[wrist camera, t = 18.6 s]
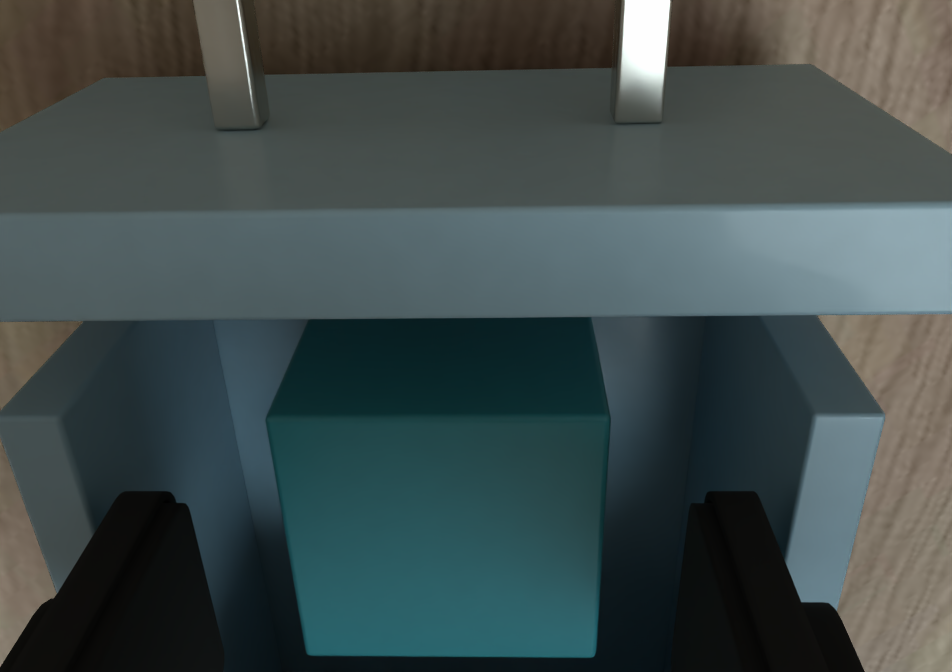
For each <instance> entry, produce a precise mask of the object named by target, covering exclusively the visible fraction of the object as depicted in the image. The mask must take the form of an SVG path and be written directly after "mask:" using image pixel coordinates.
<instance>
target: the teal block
mask: <svg viewBox="0 0 952 672" xmlns="http://www.w3.org/2000/svg"><path fill="white" fill-rule="evenodd" d="M265 422H266V427H267V433H268V439H269V444H270V450H271V456H272V461H273V467H274V473H275V478H276V484H277V490H278V496H279V501H280V507H281V513H282V518H283V524H284V530H285V535H286V541H287V547H288V552H289V558H290V564H291V569H292V575H293V581H294V586H295V592H296V598H297V604H298V609H299V615H300V621H301V626H302V632H303V638H304V643H305V649H306V653H307V654H308V655H311V656H417V657H544V658H591V657H594V655H595V653H596V649H597V634H598V618H599V602H600V586H601V570H602V554H603V538H604V522H605V506H606V490H607V474H608V458H609V442H610V426H611V416H610V411H609V406H608V401H607V395H606V390H605V385H604V380H603V374H602V369H601V364H600V359H599V353H598V348H597V343H596V338H595V332H594V327H593V322H592V317H523V318H401V319H309V320H308V322H307V324H306V326H305V329H304V331H303V333H302V336H301V338H300V340H299V342H298V345H297V347H296V349H295V352H294V354H293V356H292V358H291V361H290V363H289V365H288V368H287V370H286V372H285V374H284V377H283V379H282V381H281V384H280V386H279V388H278V390H277V393H276V395H275V397H274V400H273V402H272V404H271V407H270V409H269V411H268V413H267V416H266V419H265Z"/></svg>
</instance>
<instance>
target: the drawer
mask: <svg viewBox="0 0 952 672" xmlns="http://www.w3.org/2000/svg"><path fill="white" fill-rule="evenodd" d="M192 2H193V7H194V13H195V19H196V24H197V30H198V36H199V41H200V47H201V53H202V58H203V64H204V70H205V76H179V77H129V78H103V79H101V80H99V81H97V82H95V83H93V84H91V85H90V86H88V87H86V88H84V89H82V90H80V91H78V92H76V93H74V94H72V95H70V96H69V97H67V98H65V99H63V100H61V101H59V102H57V103H55V104H53V105H51V106H49V107H47V108H46V109H44V110H42V111H40V112H38V113H36V114H34V115H32V116H30V117H28V118H26V119H25V120H23V121H21V122H19V123H17V124H15V125H13V126H11V127H9V128H7V129H5V130H4V131H2V132H0V322H35V321H83V322H82V324H81V325H80V326H79V327H78V328H77V329H76V330H75V331H74V332H73V333H72V334H71V335H70V336H69V338H68V339H67V340H66V341H65V342H64V343H63V344H62V345H61V346H60V347H59V348H58V349H57V350H56V351H55V353H54V354H53V355H52V356H51V357H50V358H49V359H48V360H47V361H46V362H45V363H44V364H43V365H42V367H41V368H40V369H39V370H38V371H37V372H36V373H35V374H34V375H33V376H32V377H31V378H30V379H29V380H28V382H27V383H26V384H25V385H24V386H23V387H22V388H21V389H20V390H19V391H18V392H17V393H16V394H15V396H14V397H13V398H12V399H11V400H10V401H9V402H8V403H7V404H6V405H5V406H4V407H3V408H2V409H1V411H0V438H1V441H2V444H3V447H4V449H5V452H6V455H7V458H8V460H9V463H10V466H11V469H12V471H13V474H14V477H15V480H16V482H17V485H18V488H19V491H20V493H21V496H22V499H23V502H24V504H25V507H26V510H27V513H28V515H29V518H30V521H31V524H32V526H33V529H34V532H35V535H36V537H37V540H38V543H39V546H40V548H41V551H42V554H43V557H44V559H45V562H46V565H47V568H48V570H49V573H50V576H51V579H52V581H53V584H54V587H55V590H56V592H57V593H58V591H59V590H60V588H61V587H62V585H63V583H64V582H65V580H66V578H67V577H68V575H69V574H70V572H71V570H72V569H73V567H74V565H75V564H76V562H77V561H78V559H79V557H80V556H81V554H82V553H83V551H84V549H85V548H86V546H87V544H88V543H89V541H90V540H91V538H92V536H93V535H94V533H95V531H96V530H97V528H98V527H99V525H100V523H101V522H102V520H103V519H104V517H105V515H106V514H107V512H108V510H109V509H110V507H111V506H112V504H113V502H114V501H115V499H116V498H117V497H118V496H119V494H120V493H122V492H124V491H168V492H171V493H172V494H173V495H174V497H175V499H176V502H177V503H186V504H187V506H188V507H189V510H190V513H191V517H192V521H193V525H194V529H195V533H196V538H197V542H198V546H199V550H200V554H201V558H202V562H203V566H204V570H205V575H206V579H207V583H208V587H209V591H210V595H211V599H212V603H213V607H214V611H215V616H216V620H217V624H218V628H219V632H220V636H221V640H222V644H223V649H224V670H223V672H671V650H672V642H673V634H674V626H675V618H676V609H677V601H678V593H679V585H680V577H681V569H682V561H683V553H684V545H685V537H686V529H687V521H688V513H689V507H690V505H691V503H704V500H705V496H706V494H707V492H709V491H754V492H756V493H757V494H758V496H759V498H760V500H761V503H762V505H763V508H764V510H765V513H766V515H767V518H768V520H769V523H770V525H771V528H772V530H773V533H774V535H775V538H776V540H777V543H778V545H779V548H780V550H781V553H782V555H783V558H784V560H785V563H786V565H787V568H788V570H789V572H790V575H791V577H792V580H793V582H794V585H795V587H796V590H797V592H798V595H799V597H800V600H801V602H826V603H829V604H831V605H832V606H833V607H834V608H835V609H836V611H837V607H838V603H839V599H840V595H841V591H842V587H843V583H844V579H845V575H846V571H847V567H848V563H849V560H850V556H851V552H852V548H853V544H854V540H855V536H856V532H857V528H858V524H859V520H860V516H861V512H862V508H863V504H864V500H865V496H866V492H867V488H868V484H869V480H870V476H871V472H872V468H873V464H874V460H875V456H876V452H877V448H878V444H879V440H880V436H881V432H882V428H883V424H884V420H885V413H884V412H883V410H882V409H881V407H880V406H879V405H878V403H877V402H876V400H875V399H874V397H873V396H872V394H871V393H870V392H869V390H868V389H867V387H866V386H865V384H864V383H863V381H862V380H861V379H860V377H859V376H858V374H857V373H856V371H855V370H854V368H853V367H852V366H851V364H850V363H849V361H848V360H847V358H846V357H845V356H844V354H843V353H842V351H841V350H840V348H839V347H838V345H837V344H836V343H835V341H834V340H833V338H832V337H831V335H830V334H829V332H828V331H827V330H826V328H825V327H824V325H823V324H822V322H821V321H820V319H819V318H818V317H817V315H890V314H952V154H950V153H949V152H947V151H946V150H944V149H943V148H941V147H939V146H938V145H936V144H935V143H933V142H932V141H930V140H929V139H927V138H925V137H924V136H922V135H921V134H919V133H918V132H916V131H915V130H913V129H912V128H910V127H908V126H907V125H905V124H904V123H902V122H901V121H899V120H898V119H896V118H894V117H893V116H891V115H890V114H888V113H887V112H885V111H884V110H882V109H880V108H879V107H877V106H876V105H874V104H873V103H871V102H870V101H868V100H866V99H865V98H863V97H862V96H860V95H859V94H857V93H856V92H854V91H852V90H851V89H849V88H848V87H846V86H845V85H843V84H842V83H840V82H838V81H837V80H835V79H834V78H832V77H831V76H829V75H828V74H826V73H824V72H823V71H821V70H820V69H818V68H817V67H815V66H814V65H811V64H788V65H737V66H686V67H667V64H668V51H669V39H670V27H671V14H672V2H673V0H615V13H614V33H613V53H612V68H585V69H534V70H483V71H433V72H382V73H331V74H281V75H264V69H263V62H262V55H261V48H260V41H259V34H258V27H257V20H256V13H255V6H254V0H192ZM523 317H592V322H593V327H594V332H595V338H596V343H597V348H598V353H599V359H600V364H601V369H602V374H603V380H604V385H605V390H606V395H607V401H608V406H609V411H610V416H611V426H610V442H609V458H608V474H607V490H606V506H605V522H604V538H603V554H602V570H601V586H600V602H599V618H598V634H597V649H596V653H595V655H594V657H591V658H544V657H417V656H311V655H308V654H307V653H306V649H305V643H304V638H303V632H302V626H301V621H300V615H299V609H298V604H297V598H296V592H295V586H294V581H293V575H292V569H291V564H290V558H289V552H288V547H287V541H286V535H285V530H284V524H283V518H282V513H281V507H280V501H279V496H278V490H277V484H276V478H275V473H274V467H273V461H272V456H271V450H270V444H269V439H268V433H267V427H266V422H265V419H266V416H267V413H268V411H269V409H270V407H271V404H272V402H273V400H274V397H275V395H276V393H277V390H278V388H279V386H280V384H281V381H282V379H283V377H284V374H285V372H286V370H287V368H288V365H289V363H290V361H291V358H292V356H293V354H294V352H295V349H296V347H297V345H298V342H299V340H300V338H301V336H302V333H303V331H304V329H305V326H306V324H307V322H308V320H309V319H401V318H523Z"/></svg>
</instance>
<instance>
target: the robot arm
mask: <svg viewBox="0 0 952 672" xmlns="http://www.w3.org/2000/svg"><path fill="white" fill-rule="evenodd" d="M223 670H224V649H223V644H222V640H221V636H220V632H219V628H218V624H217V620H216V616H215V611H214V607H213V603H212V599H211V595H210V591H209V587H208V583H207V579H206V575H205V570H204V566H203V562H202V558H201V554H200V550H199V546H198V542H197V538H196V533H195V529H194V525H193V521H192V517H191V513H190V510H189V507H188V506H187V504H186V503H177V502H176V499H175V497H174V495H173V494H172V493H171V492H168V491H124V492H122V493H120V494H119V496H118V497H117V498H116V499H115V501H114V502H113V504H112V506H111V507H110V509H109V510H108V512H107V514H106V515H105V517H104V519H103V520H102V522H101V523H100V525H99V527H98V528H97V530H96V531H95V533H94V535H93V536H92V538H91V540H90V541H89V543H88V544H87V546H86V548H85V549H84V551H83V553H82V554H81V556H80V557H79V559H78V561H77V562H76V564H75V565H74V567H73V569H72V570H71V572H70V574H69V575H68V577H67V578H66V580H65V582H64V583H63V585H62V587H61V588H60V590H59V591H58V593H57V595H56V596H55V598H54V599H50V600H48V601H47V602H45V603H44V604H42V605H41V606H40V607H39V609H38V610H37V611H36V612H35V614H34V615H33V616H32V618H31V619H30V621H29V623H28V624H27V626H26V627H25V629H24V631H23V632H22V634H21V635H20V637H19V638H18V640H17V642H16V643H15V645H14V646H13V648H12V650H11V651H10V653H9V654H8V656H7V657H6V659H5V661H4V662H3V664H2V665H1V667H0V672H223ZM671 672H864V669H863V667H862V665H861V663H860V660H859V658H858V656H857V654H856V651H855V649H854V647H853V645H852V642H851V640H850V638H849V636H848V633H847V631H846V629H845V627H844V624H843V622H842V620H841V618H840V616H839V615H838V613H837V611H836V609H835V608H834V607H833V606H832V605H831V604H829V603H826V602H801V600H800V597H799V595H798V592H797V590H796V587H795V585H794V582H793V580H792V577H791V575H790V572H789V570H788V568H787V565H786V563H785V560H784V558H783V555H782V553H781V550H780V548H779V545H778V543H777V540H776V538H775V535H774V533H773V530H772V528H771V525H770V523H769V520H768V518H767V515H766V513H765V510H764V508H763V505H762V503H761V500H760V498H759V496H758V494H757V493H756V492H754V491H709V492H707V494H706V496H705V500H704V503H691V505H690V507H689V513H688V521H687V529H686V537H685V545H684V553H683V561H682V569H681V577H680V585H679V593H678V601H677V609H676V618H675V626H674V634H673V642H672V650H671Z"/></svg>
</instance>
